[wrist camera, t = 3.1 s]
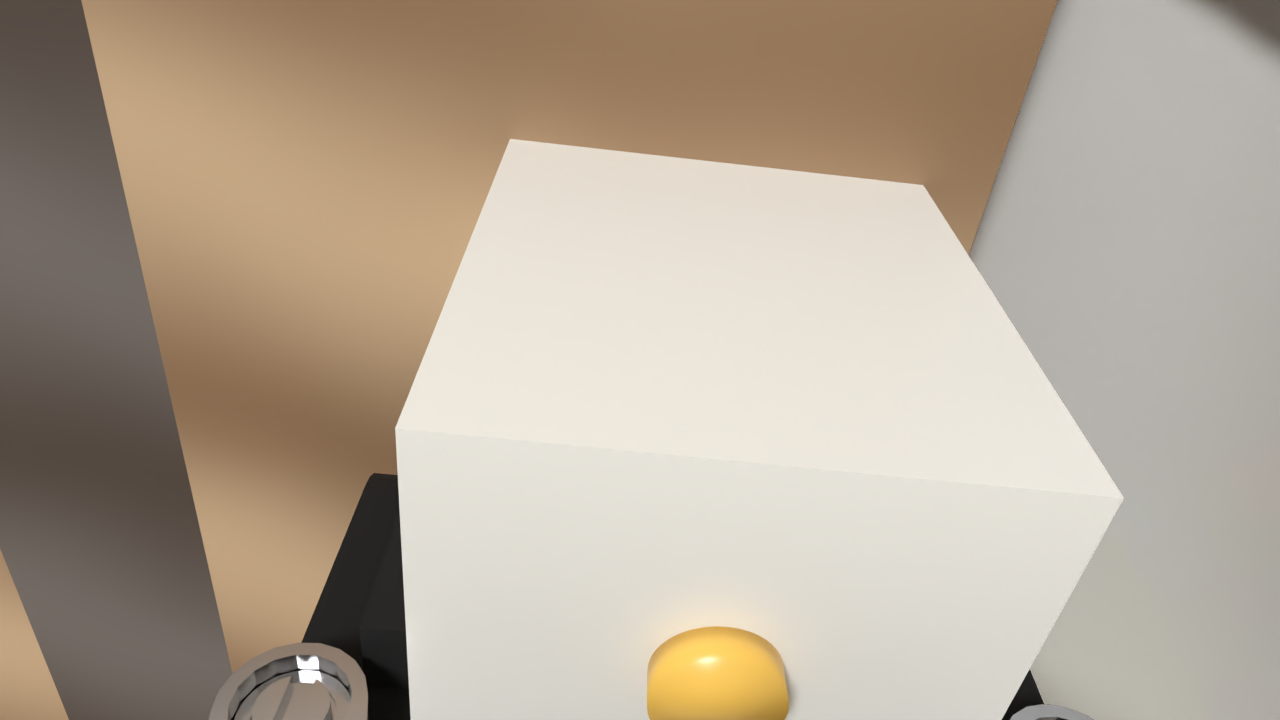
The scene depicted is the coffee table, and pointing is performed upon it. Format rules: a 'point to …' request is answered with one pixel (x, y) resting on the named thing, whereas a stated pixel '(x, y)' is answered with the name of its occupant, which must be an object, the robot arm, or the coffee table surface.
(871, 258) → the stud finder
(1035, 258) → the coffee table surface
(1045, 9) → the subfloor board
